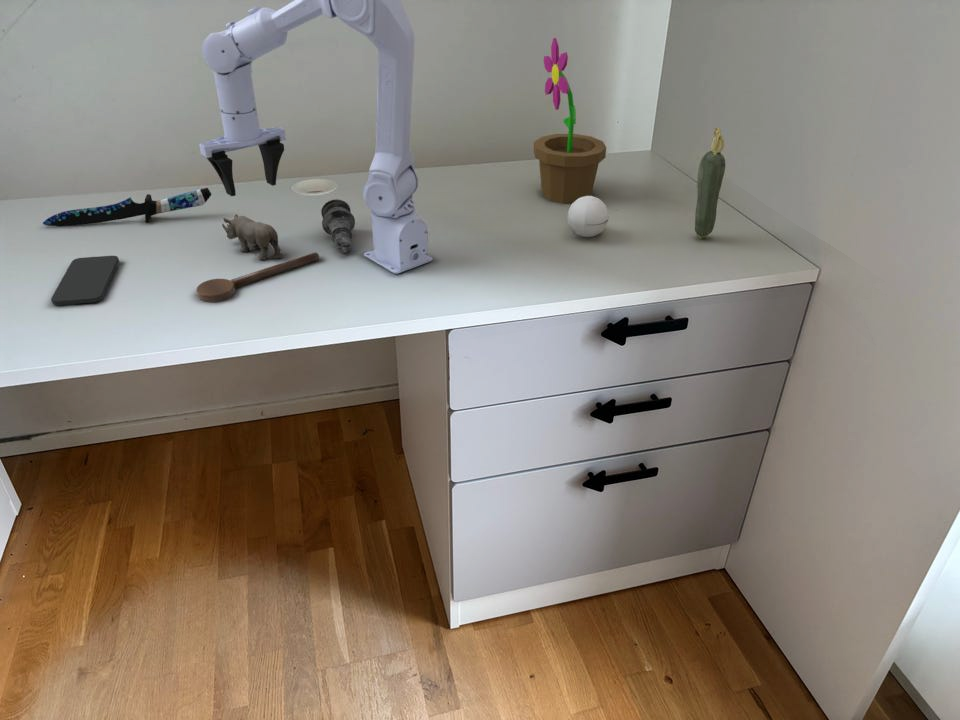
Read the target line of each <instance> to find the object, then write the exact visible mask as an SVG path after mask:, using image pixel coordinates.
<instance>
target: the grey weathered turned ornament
mask: <svg viewBox="0 0 960 720" xmlns="http://www.w3.org/2000/svg"><path fill="white" fill-rule="evenodd" d="M351 211H352V210H351V206H350V205H349V203H348V202H347V201H345V200H342V199H338V198H336V199H331V200H328V201H326V202H325V203H324V204H323V205H322V208H321V210H320V213H321V217H322V221H321V226H322V229H323V231H324V232H325V233H326V234H328V235H329V236H330V238H331V240H332V242H334V245H335V248H336V250H337V251H338V252H339V253H342V254H345V253H349V252H350V251H351V250H352V249H353V242H352V237H353V234H352V231H353V230H354V228H355V227H356V219H355V217H354V214H353V213H352V212H351Z"/></svg>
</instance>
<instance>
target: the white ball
mask: <svg viewBox="0 0 960 720" xmlns="http://www.w3.org/2000/svg"><path fill="white" fill-rule="evenodd" d="M616 211H617V209H615V210H612V211H609V210H608V208H607V204H605V202H603V201H602V200H601V199H600V198H598V197H597V196H593V195H591V196H584V197H581V198H578V199H577V200H576V201H574V202H573V203H571V205H570V207H569V208H568V212H567V223H568V226H569V227H570V229H571V231H572V232H574V233H575V234H576V235H577V236H580V237H584V238H591V237H595V236H598V235H599V234H600V233H602V232H603V231H604V230H605V228H606V227H607V225H608V222H609V214H610V213H612V212H616Z"/></svg>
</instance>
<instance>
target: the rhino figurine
mask: <svg viewBox="0 0 960 720" xmlns="http://www.w3.org/2000/svg"><path fill="white" fill-rule="evenodd" d="M233 217H234V218H232V219H227V218H225V217H222V219H223V222H224V223H226V225H225V224H224V223H221V226H222V228H223V230H224V231H225V233H226V237H227V238H228V239H229V240H233V239H236V238H237V239H238V241H239V242H240V243H241V245H242V247H241V248H240V252H241V253H247V252H249V251H250V248H249V244H250V245H253V247H252V248H253V249H255V250H256V249H257V250H258V249H260V254H259V256H258V259H259V260H260V261H265V260H268V259H269V256H268V253H269V245H271V247H272V248H273V250H274V254H273V257H274V258H275V259H281V258H283V253H282V252H281V248H280V245H279V237H278V232H277V230H276V229H275V228H274V227H273V226H272V225H271V224H267V223H264V222H260V221H255V220H253V219H251V218H249V217H248V216H245V215H238V214H235V215H234V216H233Z"/></svg>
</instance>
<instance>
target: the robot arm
mask: <svg viewBox="0 0 960 720" xmlns="http://www.w3.org/2000/svg"><path fill="white" fill-rule="evenodd" d="M247 13H248V15H247V16H246V17H244V18H242V19H240V20H239V21H237V22H235V21H234V20H233V21H229V22H228V23H226V24H225V27H226V29H225V30H222V31H219V32H211V33H210V34H209V35H208V36H207V37H206V38H205V39H204V40H203V42H202V45H201V54H202V57H203V60H204V62H205V63H206V65H207V66H208V67H209V69H211V70H212V73H213V78H214V83H215V89H216V94H217V99H218V100H217V101H218V106H219V111H220V117H221V123H222V128H223V134H224V135H221V136H219V137H217V138H214V139H213V138H212V139H211V140H208V141H205V142H200V143H198V145H199V151H200V155H201V156H202V157H204V158H206V159H207V161H208V162H209V164H210V165H211V166H212V167H213V169H214V171H215V172H216V173H217V176H218V177H219V179H220V180H221V183H222V185H223V187H224V190H225V193H226V195H228V196H230V197H236V195H237V194H236V187H235V182H234V176H233V175H234V174H233V159H232V158H230V157H229V155H228V154H226V153H229V152H234V151H239V150H243V149H247V148H253V147H256V146H258V148H259V152H260V155H261V159H262V164H263V170H264V177H265V180H266V183H267V184H268V185H270V186H272V187H273V186H276V185H277V175H278V169H279V165H280V161H281V158H282V156H283V154H284V151H285V145H284V143H282V142H283V141H286V140H287V137H286V130H285V128H283V127H281V126H275V127H268V128H267V127H266V128H260V121H259V117H258V108H257V103H256V95H255V90H254V83H253V77H252V74H253V69H252V63H253V62H254V61H255V60H257V59H259V58H261V57H263V56H264V55H267V54H268V53H270V52H273V51H274V50H276V49H278V48H280V47H282V46H284V45H285V44H286V42H287V38H288V32H290V31H292V30H293V29H296V28H298V27H300V26H302V25H304V24H306V23H309V22H311V21H312V20H314V19H316V18H318V17H320V16H325V17H328V18H329V19H334V18H336V17H337V18H338V19H339V20H340V21H341V22H342V23H344V24H345V25H347V26H349V27H350V28H352V29H353V30H355V31H357V32H358V33H359V34H361V35H363V36H365V37H366V38H367V39H368V40H369V41H370V42H371V43H372V44H373V45H374V47H375V48H376V49H377V74H376V75H377V76H376V78H377V79H376V80H377V81H376V111H375V112H376V114H375V116H376V117H375V152H374V155H373V159H372V161H371V164H370V167H369V170H368V179H367V181H366V183H365V185H364V187H363V191H362V196H363V197H362V198H363V202H364V203H365V205H366V207H367V208H368V209H369V210H370V219H371V230H372V242H373V243H372V244H373V249H371V250H368V251H366V252H364V253H363V257H365V258H367V259H369V260H370V261H372V262H373V263H375V264H376V265H377V264H378V265H379V266H381V267H382V268H384V269H386V270H387V271H389V272H391V273H393V274H395V275H397V274H401V273H403V272H406V271H408V270H412V269H414V268H417V267H420V266H422V265H426V264H427V263H430V262H432V261H433V257H432V256H430V255H429V236H428V235H429V234H428V227H427V224H426V223H425V222H424V220H422V219H421V218H420V217H419V216H418V214H417V212H416V209H415V202H414V197H413V194H415V193H416V191H417V189H418V188H419V177H418V176H419V175H418V174H417V171H416V168H415V157H414V155H413V154H412V153H411V152H410V134H411V117H412V115H411V114H412V96H413V95H412V94H413V77H414V57H415V56H414V55H415V42H416V41H415V39H416V38H415V32H414V29H413V26H412V24H411V22H410V20H409V19H410V18H409V17H408V14H407V12H406V9H405V7H404V5H403V2H402V0H292V1H291V2H289V3H288V4H286V5H284V6H283V7H281V8H279V9H277V10H275V9H272V8H270V7H265V6H264V7H262V8H260V6H255V7H252V8H251V9H248V11H247Z"/></svg>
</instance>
